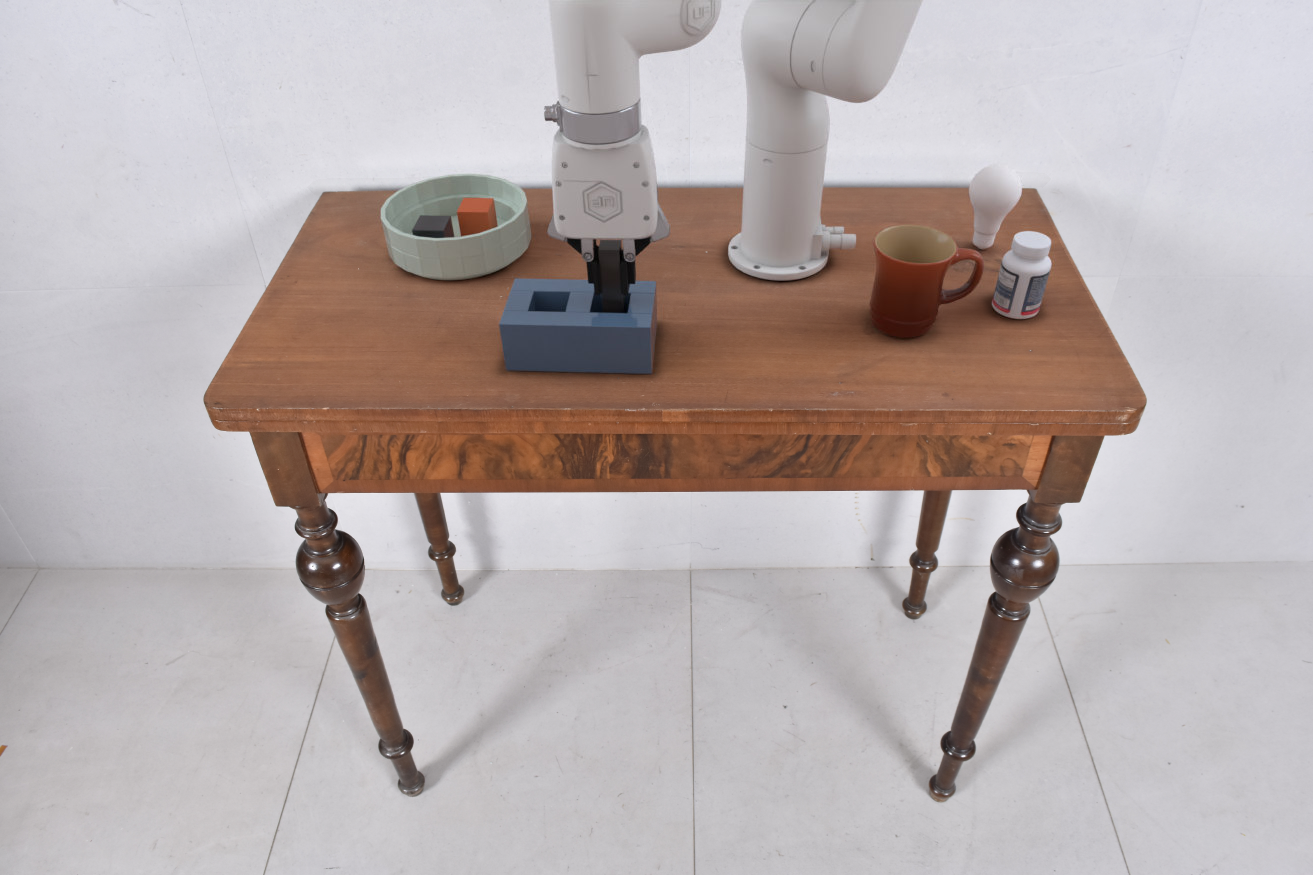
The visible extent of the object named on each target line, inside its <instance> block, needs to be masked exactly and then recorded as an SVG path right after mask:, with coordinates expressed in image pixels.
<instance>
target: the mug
mask: <svg viewBox="0 0 1313 875" xmlns="http://www.w3.org/2000/svg"><path fill="white" fill-rule="evenodd" d="M872 242H873V249H874V255H875V260H876V261H875V264H876V265H875V266H876V267H875V275H874V279H873V285H872V289H871V296H870V300H869V319H870V322H871V324H872V325H873V326H874V327H875V328H876V329H877V330H878V331H880V332H881V333H883V334H885V335H887V336H890V337H892V338H896V339H913V338H916V337H920V336H922V335H925V334H926V333H928V332H929V331H930V330H932V328H933V326H934V324H935V322H936V320H937V319H936V318H937V316H938V315H939V308H940V306H942V305H947V304H952V303H954V302H956V301H959V300H961V299H965V298H966V297H967V296H969V295H970V294H971V293H972V292H973V291H974V290H975V289H976V288H977V286H978V285H979V283H980V281H981V280H982V278H983V274H984V270H985V261H984V258H983V256H982V254H981V253H980V252H979V251H977V250H976V249H973V248H964V247H958V243H957V242H956V240H955V239H954V238H953V237H952V236H950V235H949V234H948V233H946V232H944V231H942V230H939V229H937V228H934V227H931V226H926V225H920V224H897V225H892V226H888V227H885V228H883V229H881V230H879V231H878V232H877V233H876V234H875V236H874V238H873V241H872ZM962 261H974V266H973V270H972V272H971V274H970V276H969V278H968V280H966V282H965V283H964V284H963V285H961V286H960V287H957V288H954V289H943V285H944V280H945V278H946V274H947V272H948V270H949V268H950V267H951V266H952V265H955V264H957V263H960V262H962Z"/></svg>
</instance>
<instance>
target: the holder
mask: <svg viewBox="0 0 1313 875" xmlns="http://www.w3.org/2000/svg"><path fill="white" fill-rule="evenodd" d="M657 298H658V295H657V281H656V280H636V282H635V284H630V287H629V293H628V295H625V307H626V313H603V307H602V294H600V295H595V294H594V284H589V283H588V279H573V278H572V279H571V278H570V279H569V278H568V279H567V278H563V279H562V278H519V277H518V278H517V277H516V278H514V280H513V283H512V286H511V288H510V291H509V294H508V296H507V300H506V302H505V306H504V308H503V311H502V314H501V317H500V320H499V323H498V327H499V334H500V341H501V348H502V353H503V354H502V355H503V359H504V366H505V371H510V372H512V371H514V372H516V371H517V372H550V373H551V372H554V373H559V372H560V373H594V374H595V373H597V374H630V375H631V374H632V375H634V374H635V375H636V374H638V375H652V374H653V373H652V372H653V368H654V367H653V366H654V357H655V347H656V341H657V340H656V338H657V330H658V304H657V303H658V299H657Z"/></svg>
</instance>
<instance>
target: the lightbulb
mask: <svg viewBox="0 0 1313 875" xmlns="http://www.w3.org/2000/svg"><path fill="white" fill-rule="evenodd" d="M1022 193H1023V184H1022V180H1021V178H1020V175H1019V174H1018V172H1017V171H1016V170H1015V169H1013V168H1012V167H1011V166H1009V165H1005V164H1002V163H1001V164H1000V163H996V164H990V165H987V166H985V167H983V168H981V169H980V170H979V171H978V172H976V174H974V176H973V177H972V179H971V181H970V183H969V186H968V198H969V200H970V204H971V207H972V210H973V215H974V217H973V218H974V219H973V236H972V244H973V245H974V246H975V247H977V249H979V250H985V249H989V248H991V247H993V245H994V242H995V239H996V236H997V233H998V232H1000V230H1001V229H1000V228H1001V225H1002V223H1003V221H1004V219H1005V218H1006V217H1007V215H1008V214H1009V213H1010V212H1011V211H1012V210H1013V209H1014V208H1015V206H1016V205H1017V204H1018V203H1019V200H1020V199H1021V197H1022Z"/></svg>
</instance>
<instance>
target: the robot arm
mask: <svg viewBox="0 0 1313 875" xmlns="http://www.w3.org/2000/svg"><path fill="white" fill-rule="evenodd" d="M923 1H924V0H752V1H751V2H750V4H749V5H748V7H747V9H746V11H745V13H744V15H743V19H742V23H741V30H740V47H741V48H740V49H741V57H742V63H743V64H742V65H743V70H744V78H745V85H746V87H745V88H746V124H745V125H746V126H745V127H746V128H745V144H744V145H745V146H744V166H743V185H742V186H743V187H742V188H743V189H742V207H741V208H742V209H741V210H742V211H741V229H740V230H741V231H740V232H739V233H737V234H736V235H735V236H733V237H732V238H731V240H730V241H729V243H728V248H727V256H728V259H729V262H730V263H731V264H732V265H733V266H734V267H735V268H736V269H737V270H739V271H741V272H742V273H744V274H746V275H749V276H751V277H754V278H757V279H762V280H769V281H779V282H780V281H783V282H784V281H795V280H801V279H804V278H809V277H810V276H813V275H815V274H816V273H818V272H820V271H821V270H822V269H823V268H824V267H826V265H827V263H828V262H829V261H828V260H829V255H830V253H829V252H830V250H841V251H843V250H845V251H854V250H856V246H857V234H856V233H845V227H844V226H826V224H822V216H821V211H822V209H821V208H822V201H823V200H822V199H823V192H824V191H823V189H824V182H825V181H824V180H825V179H824V178H825V171H826V162H827V152H828V143H829V137H830V126H831V124H830V123H831V122H830V121H831V120H830V110H829V105H828V104H829V103H828V100H827V97H830V98H833V99H836V100H838V101H843V102H847V103H851V104H852V103H853V104H861V103H867V102H869V101H872V100H873V99H874V98H876V97H877V96H879V95H880V94H881V93H882V91H883V90H884V89H885V88H886V87H887V85H888V83H889V81H890V80H891V78H892V76H893V74H894V72H895V70H896V68H897V66H898V64H899V61H900V58H901V56H902V54H903V51H904V49H905V46H906V44H907V41H908V39H909V37H910V33H911V31H912V28H913V26H914V23H915V21H916V18H917V15H918V13H919V11H920V8H921V6H922V3H923ZM548 5H549V6H548V7H549V17H550V19H549V20H550V27H551V28H550V30H551V39H552V50H553V58H554V59H553V60H554V69H555V78H556V87H557V96H558V100H557V101H556V104H552V105H544V107H543V117H544V121H545V122H553V123H556V125H557V127H559V128H558V129H557V131H556V132H555V133H554V136H553V140H552V150H551V187H552V188H551V190H552V208H553V211H552V212H553V214H552V216H551V219H550V221H549V224H548V227H547V231H546V233H547V235H548V236H549V237H550V238H553V239H555V240H558V241H561V242H565V243H567V244H568V246H570V247H571V248H573V249H574V250H575V251H576V252H577V253H579V255H581V258H582V260H583V261H584V262H586V263H585V264H586V273H587V274H586V275H587V280H588V283H589V284H594V294H595V295H600V294H602V289H601V276H600V264H599V257H598V248H599V245H598V243H597V242H598V241H597V240H621V242H622V255H621V260H620V263H619V267H620V283H621V294H623V295H628V293H629V287H630V284H635V282H636V281H637V270H636V258H637V257H638V255H640V253H642V252H643V251H644V250H645V249H646V248H648V247H649V245H651V243H656V242H658V241H661V240H663V239H666V238H668V237H669V236H670V233H671V225H670V223H669V221H668V219H667V217H666V215H665V214H664V212H663V209H662V208H661V205H660V204H659V187H658V177H657V169H656V168H657V167H656V161H655V154H654V149H653V144H652V139H651V135H650V132H649V128H648V127H647V126H646V125H645V124H642V100H641V79H640V58H641V57H642V56H644V55H651V54H660V53H668V52H676V51H682V50H686V49H688V48H691V47H693V46H696V45H697V44H699V43H700V42H702V41H703V40H704V39H705V38H706V37H707V36H709V34H710V33H711V32H712V31H713V30H714V28H715V26H716V24H717V22H718V20H719V17H720V14H721V9H722V0H548ZM826 96H827V97H826Z"/></svg>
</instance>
